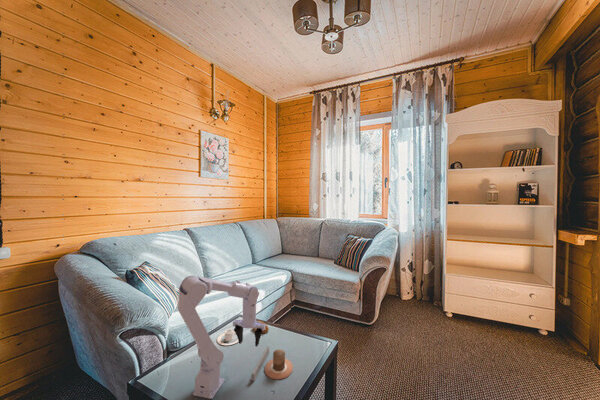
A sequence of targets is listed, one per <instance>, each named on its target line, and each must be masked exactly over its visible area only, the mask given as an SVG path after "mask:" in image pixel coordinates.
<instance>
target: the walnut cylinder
mask: <svg viewBox="0 0 600 400" xmlns="http://www.w3.org/2000/svg"><path fill="white" fill-rule="evenodd" d="M272 359H273V369H274V370H275V371H282V370H283V369H284V368H285V359H286V352H285V351H284V350H283V349H276V350H274V351H273V353H272Z"/></svg>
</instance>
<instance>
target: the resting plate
mask: <svg viewBox="0 0 600 400" xmlns="http://www.w3.org/2000/svg"><path fill="white" fill-rule="evenodd" d="M293 369H294V366H293V363H292V361H290V360H289V359H287V358H285V368H284V369H283V370H282V371H275V370H274V369H273V358H272V359H270V360H268V361H267V362H266V363H265V364H264V373H265V375H266V376H267V377H268V378H270V379H272V380H283V379H285V378H288V377H289V376H290V375H292V373H293V371H294V370H293Z"/></svg>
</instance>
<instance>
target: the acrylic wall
mask: <svg viewBox="0 0 600 400" xmlns="http://www.w3.org/2000/svg"><path fill="white" fill-rule="evenodd" d="M269 354H270V346H267V345H266V346H265V348H264V351H263V352H262V354H261V355H260V358H259V360H258V361H257V363H256V365H255V366H254V369H253V371H252V372H251V382H255V381H256V379H257V377H258V375H259V373H260V372H261V369H262V368H263V366H264V365H265V362H266V360H267V358H268V356H269Z"/></svg>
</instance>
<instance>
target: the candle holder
mask: <svg viewBox="0 0 600 400" xmlns="http://www.w3.org/2000/svg"><path fill="white" fill-rule="evenodd" d="M234 335H236V333H235V332H234V329H230V328H229V329H226V330H225V331H224V332H223V333H221V334H220V335H219V336H218V337H217V338H216V343H218V344H219V345H220V346H221V345H222V346H232V345H235V344H237V343H239V341H238V338H237V339H236V340H235V341H233V340H234ZM223 337H224V341H226V342H229V343H224V342H222V341H221V340H222V338H223ZM232 341H233V342H232Z"/></svg>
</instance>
